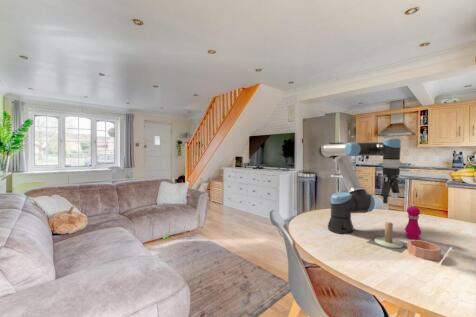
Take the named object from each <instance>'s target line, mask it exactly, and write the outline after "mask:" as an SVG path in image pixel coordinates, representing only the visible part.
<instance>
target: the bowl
mask: <svg viewBox="0 0 476 317" xmlns="http://www.w3.org/2000/svg"><path fill="white" fill-rule="evenodd" d="M406 243H407V248H406V249H407V252H408V254H410V255H412V256H413V257H416V258H418V259H419V258H420V259H423V260H427V261H438V260H440V259H441V257H442V256H441V255H442V254H441V253H442V248H441V246H439V245H437V244H435V243H432V242H429V241H425V240H421V239H420V240H412V239H409V240H407V241H406Z"/></svg>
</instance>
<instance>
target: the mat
mask: <svg viewBox="0 0 476 317" xmlns="http://www.w3.org/2000/svg"><path fill="white" fill-rule="evenodd" d="M377 237H384V236H383V235H378V234H377V235H376V236H374V237H372V238H371V239H370V240H367V241H366V244H370V245H373V246H377V247H380V248H384V249H386V250H390V251H394V252H396V253H398V254H400V253H401V254H402V253H403V252H404V251H405V250H406V249H407V242H404V241H401V240H399V241H400V242H402V243H403V245H404V246H403V248H399V249H394V248H388V247H384V246H381V245H379V244H377V243H375V241H374V239H375V238H377Z"/></svg>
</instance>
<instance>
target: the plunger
mask: <svg viewBox="0 0 476 317" xmlns="http://www.w3.org/2000/svg"><path fill="white" fill-rule="evenodd" d="M393 227H394V224H393V223H392V222H389V221H386V222H384V236H383V237H377V238H375V239H374V241H375V243H377V244H379V245H381V246H384V247H388V248H394V249H399V248H403V246H404V245H403V243H402V242H403V241H402V242H400V241H401V240H398V239H394V238H393V232H394V231H393V230H394V228H393Z"/></svg>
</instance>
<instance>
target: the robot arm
mask: <svg viewBox="0 0 476 317" xmlns="http://www.w3.org/2000/svg"><path fill="white" fill-rule="evenodd" d="M401 148H402V144H401V139H400V138H396V137H392V138H383V141H382V142H348V143H347V142H342V141H341V142H340V141H339V142H323V143H322V144H319V147H317V152H318V155H319V156H320V157H322V158H325V159H332V160H333V162H334V163H336V165H337V166H338V169H339V170H338V171H340V174H341V177H342V180H343V182H344V185H345V188H346V190H347V192H345V191H344V192H340V191H339V192H336V193H335V192H334V193H332V195H331V197H330V218H329V221H328V223H327V229H328V230H329V231H331V232H332V233H335V234H339V235H346V234H352V233H354V231H355V228H354V225H353V224H354V223H353V222H352V214H366V213H370V212H371V213H372V211H374V209H375V206H376V205H375V204H376V202H375V198H374V196H373V195H371V194H370V193H367V191H366V189H365V188H363V187H362V185H361V182H360V181H359V178H358V176H357V173H356V172H355V168H354V167H353V165H352V163H351V160H350V158H351V157H359V156H360V157H364V156H367V157H369V156H370V157H372V156H378V157H379V156H380V157H381V156H382V175H384V177H383V183H382V186H381V192H380V197H382V204H381V206H382V207H381V208H382V209H383V210H387V211H389V209H390V205H395V206H397V205H398V194H400V188H399V187H400V186H399V180H398V177H399V176H400V174H401V173H400V172H401V170H400V169H401V168H400V167H401V164H402V161H401ZM385 176H386V177H385ZM390 191H392V192H391V193H390ZM390 195H391V197H390ZM390 198H391V199H390ZM390 201H391V202H390Z"/></svg>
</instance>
